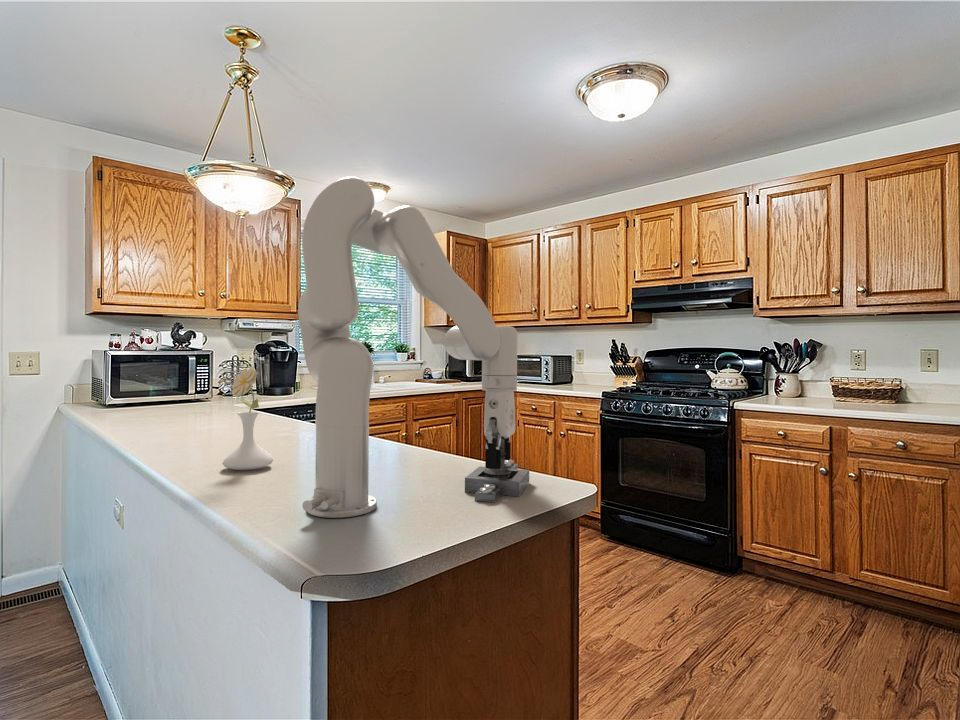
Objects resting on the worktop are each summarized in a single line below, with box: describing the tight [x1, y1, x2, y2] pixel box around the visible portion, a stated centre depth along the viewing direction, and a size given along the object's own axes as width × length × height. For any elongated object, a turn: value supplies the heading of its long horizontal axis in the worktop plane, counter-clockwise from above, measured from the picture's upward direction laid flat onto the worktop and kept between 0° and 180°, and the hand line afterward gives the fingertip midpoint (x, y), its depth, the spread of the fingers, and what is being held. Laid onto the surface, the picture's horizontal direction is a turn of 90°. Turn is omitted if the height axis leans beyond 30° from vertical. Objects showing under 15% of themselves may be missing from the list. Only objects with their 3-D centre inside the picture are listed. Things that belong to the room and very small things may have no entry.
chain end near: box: [464, 476, 530, 503], centre depth 112 cm, size 17×12×2 cm, turn 165°
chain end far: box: [464, 459, 530, 489], centre depth 118 cm, size 17×12×4 cm, turn 165°
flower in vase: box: [222, 366, 274, 471], centre depth 130 cm, size 13×11×25 cm
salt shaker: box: [484, 437, 511, 479], centre depth 115 cm, size 6×6×12 cm
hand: (498, 463), depth 115 cm, fingers open, 8 cm apart
